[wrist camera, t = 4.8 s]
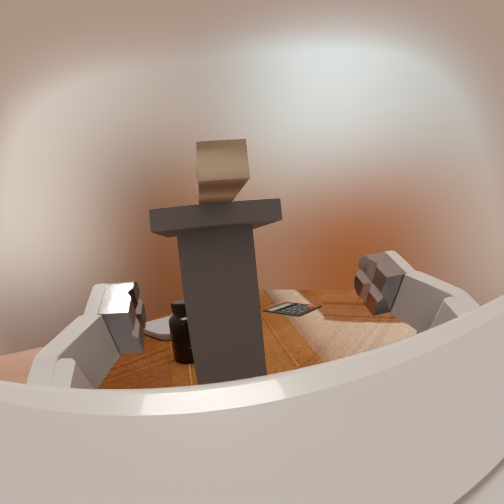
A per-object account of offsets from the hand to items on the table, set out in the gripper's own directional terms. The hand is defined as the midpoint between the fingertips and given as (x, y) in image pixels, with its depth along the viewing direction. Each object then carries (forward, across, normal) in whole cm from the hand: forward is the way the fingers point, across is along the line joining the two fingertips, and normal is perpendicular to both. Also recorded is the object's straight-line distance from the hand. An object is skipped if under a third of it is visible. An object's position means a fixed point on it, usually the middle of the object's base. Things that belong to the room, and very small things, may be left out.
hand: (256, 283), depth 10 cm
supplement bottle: (+29, -6, -41) cm, 51 cm away
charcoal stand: (+9, 0, -29) cm, 31 cm away
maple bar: (+18, 0, -4) cm, 18 cm away
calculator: (+54, +25, -56) cm, 81 cm away
